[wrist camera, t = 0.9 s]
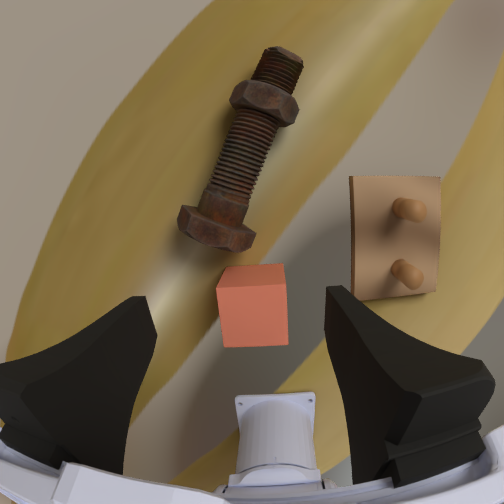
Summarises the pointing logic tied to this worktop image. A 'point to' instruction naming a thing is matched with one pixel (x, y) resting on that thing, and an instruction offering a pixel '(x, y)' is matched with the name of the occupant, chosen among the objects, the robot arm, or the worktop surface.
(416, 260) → the stub block
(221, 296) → the salmon cube
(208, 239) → the bolt
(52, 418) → the robot arm
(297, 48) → the worktop surface
